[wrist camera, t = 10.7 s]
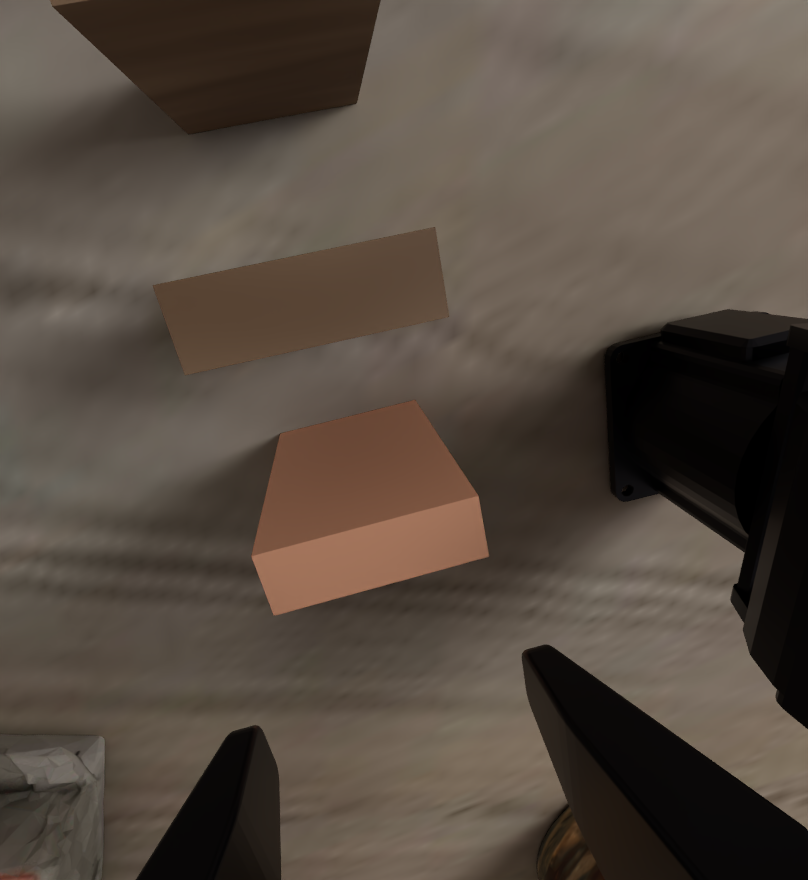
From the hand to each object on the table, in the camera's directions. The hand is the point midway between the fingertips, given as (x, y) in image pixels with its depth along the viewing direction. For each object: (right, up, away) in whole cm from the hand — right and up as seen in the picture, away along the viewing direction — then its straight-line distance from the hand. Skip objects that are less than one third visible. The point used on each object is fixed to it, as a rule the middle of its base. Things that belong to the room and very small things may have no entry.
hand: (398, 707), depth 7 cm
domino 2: (-3, +9, +9) cm, 13 cm away
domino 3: (-2, +4, +11) cm, 12 cm away
